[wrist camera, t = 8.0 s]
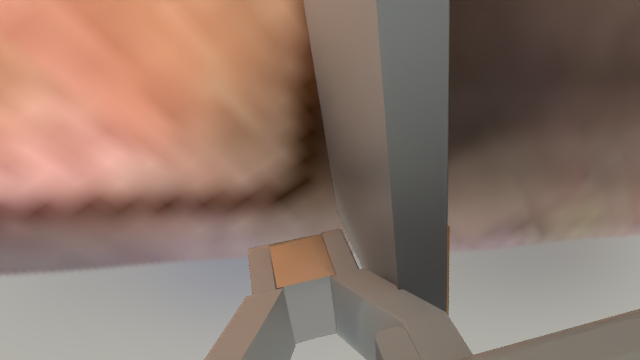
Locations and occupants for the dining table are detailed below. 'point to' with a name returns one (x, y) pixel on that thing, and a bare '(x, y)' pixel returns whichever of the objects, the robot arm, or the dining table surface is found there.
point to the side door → (388, 133)
